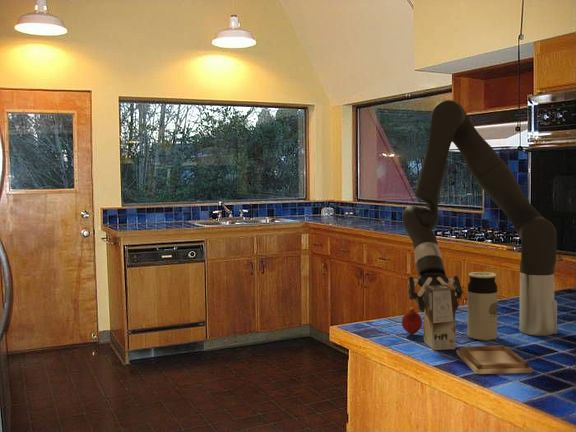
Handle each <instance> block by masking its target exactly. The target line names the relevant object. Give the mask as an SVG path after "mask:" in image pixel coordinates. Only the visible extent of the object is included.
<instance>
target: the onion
mask: <svg viewBox="0 0 576 432" xmlns="http://www.w3.org/2000/svg"><path fill="white" fill-rule="evenodd" d="M401 326H402V328H403V330H405V332H407V334H410V335H411V336H413V335H415V334H416V333H417V332H419V331H420V330H421V329H422V327H423V319H422V317H421V315H420V313H419V312H417V311H415V307H413V306H412V307H410V308H409V310H408V311H407V312H405V313H403V317H402V319H401Z"/></svg>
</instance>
